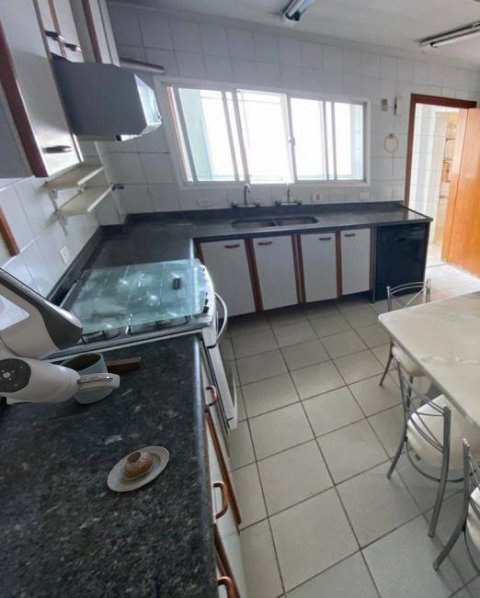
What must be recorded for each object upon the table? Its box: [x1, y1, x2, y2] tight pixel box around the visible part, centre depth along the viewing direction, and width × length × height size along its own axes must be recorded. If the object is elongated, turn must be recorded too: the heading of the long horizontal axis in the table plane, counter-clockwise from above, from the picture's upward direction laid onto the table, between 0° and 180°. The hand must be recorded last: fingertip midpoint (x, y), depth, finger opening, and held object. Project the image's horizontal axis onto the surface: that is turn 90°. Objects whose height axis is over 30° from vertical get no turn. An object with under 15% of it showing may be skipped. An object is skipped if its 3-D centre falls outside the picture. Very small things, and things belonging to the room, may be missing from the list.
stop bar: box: [104, 356, 143, 374], centre depth 110 cm, size 16×3×3 cm, turn 112°
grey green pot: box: [58, 352, 114, 405], centre depth 97 cm, size 10×10×12 cm
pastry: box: [106, 445, 170, 493], centre depth 78 cm, size 12×12×5 cm
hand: (84, 390), depth 94 cm, fingers closed
